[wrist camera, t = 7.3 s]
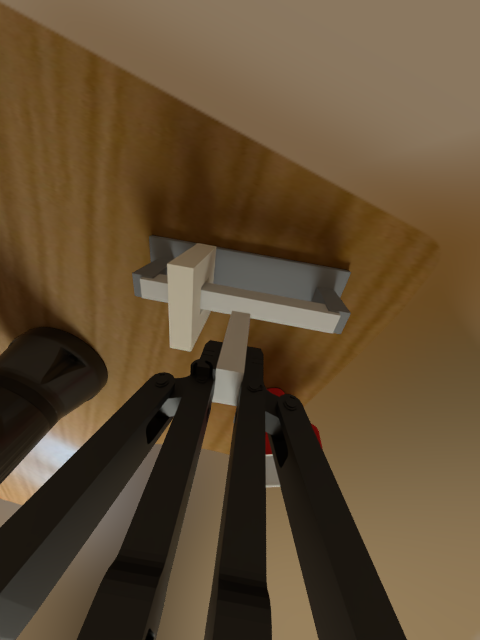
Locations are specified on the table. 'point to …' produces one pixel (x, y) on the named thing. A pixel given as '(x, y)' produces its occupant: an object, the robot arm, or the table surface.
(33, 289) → the table surface
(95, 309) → the table surface
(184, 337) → the thick cream end plate
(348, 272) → the grey slide rail
